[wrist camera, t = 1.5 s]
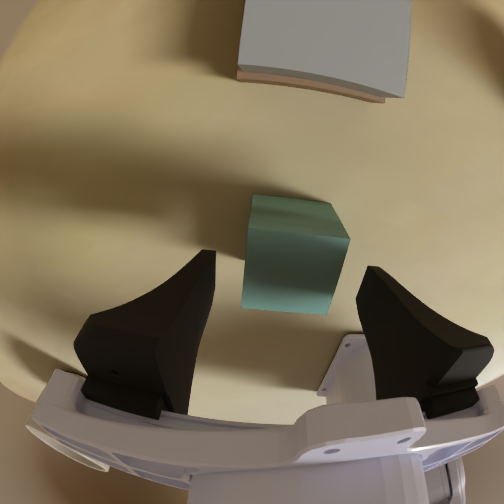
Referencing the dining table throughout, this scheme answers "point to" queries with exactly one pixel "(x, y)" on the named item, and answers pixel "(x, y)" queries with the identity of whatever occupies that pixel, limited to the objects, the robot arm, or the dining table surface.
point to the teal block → (292, 255)
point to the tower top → (330, 42)
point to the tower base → (304, 84)
